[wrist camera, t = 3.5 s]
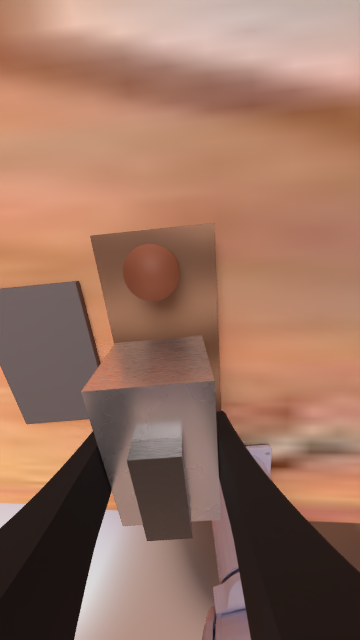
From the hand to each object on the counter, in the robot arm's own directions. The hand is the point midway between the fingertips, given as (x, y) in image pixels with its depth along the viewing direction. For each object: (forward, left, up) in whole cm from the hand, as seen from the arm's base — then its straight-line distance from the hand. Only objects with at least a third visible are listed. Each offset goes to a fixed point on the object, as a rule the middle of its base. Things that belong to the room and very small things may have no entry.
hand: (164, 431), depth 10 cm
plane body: (+1, 0, -9) cm, 9 cm away
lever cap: (0, 0, -2) cm, 2 cm away
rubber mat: (0, +12, -9) cm, 15 cm away
